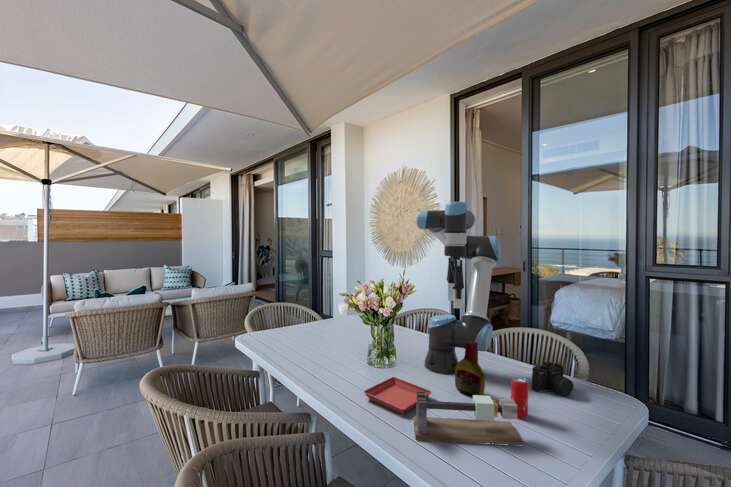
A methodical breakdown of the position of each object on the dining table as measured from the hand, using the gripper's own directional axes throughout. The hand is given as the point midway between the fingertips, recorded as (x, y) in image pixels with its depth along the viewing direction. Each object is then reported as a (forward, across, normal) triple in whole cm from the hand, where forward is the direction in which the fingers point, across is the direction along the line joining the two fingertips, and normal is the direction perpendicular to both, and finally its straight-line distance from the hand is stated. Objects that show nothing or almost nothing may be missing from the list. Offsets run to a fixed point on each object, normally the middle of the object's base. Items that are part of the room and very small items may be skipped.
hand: (454, 304), depth 122 cm
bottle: (+35, -5, +7) cm, 36 cm away
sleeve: (+29, +21, +5) cm, 36 cm away
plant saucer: (+35, +2, -20) cm, 41 cm away
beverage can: (+35, +9, +20) cm, 41 cm away
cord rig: (+35, +21, 0) cm, 41 cm away
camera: (+35, -11, +40) cm, 54 cm away
